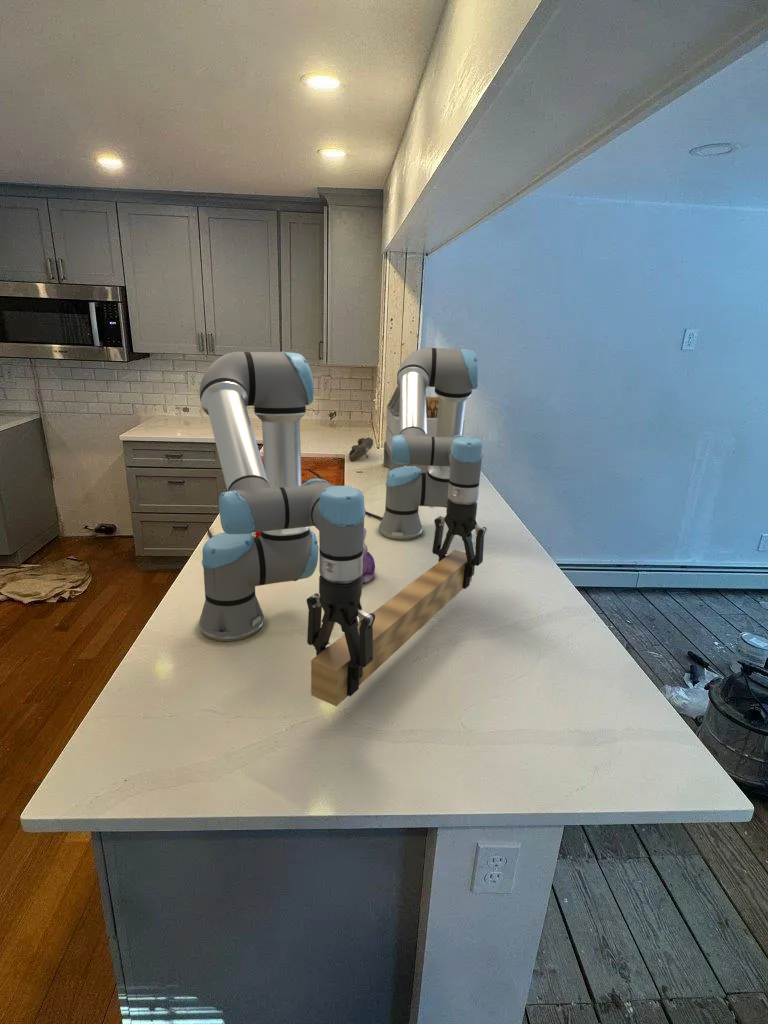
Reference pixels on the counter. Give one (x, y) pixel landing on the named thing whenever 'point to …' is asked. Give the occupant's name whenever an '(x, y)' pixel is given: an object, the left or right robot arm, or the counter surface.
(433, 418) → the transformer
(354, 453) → the fossil
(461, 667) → the counter surface
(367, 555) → the figurine
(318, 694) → the post
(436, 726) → the counter surface
